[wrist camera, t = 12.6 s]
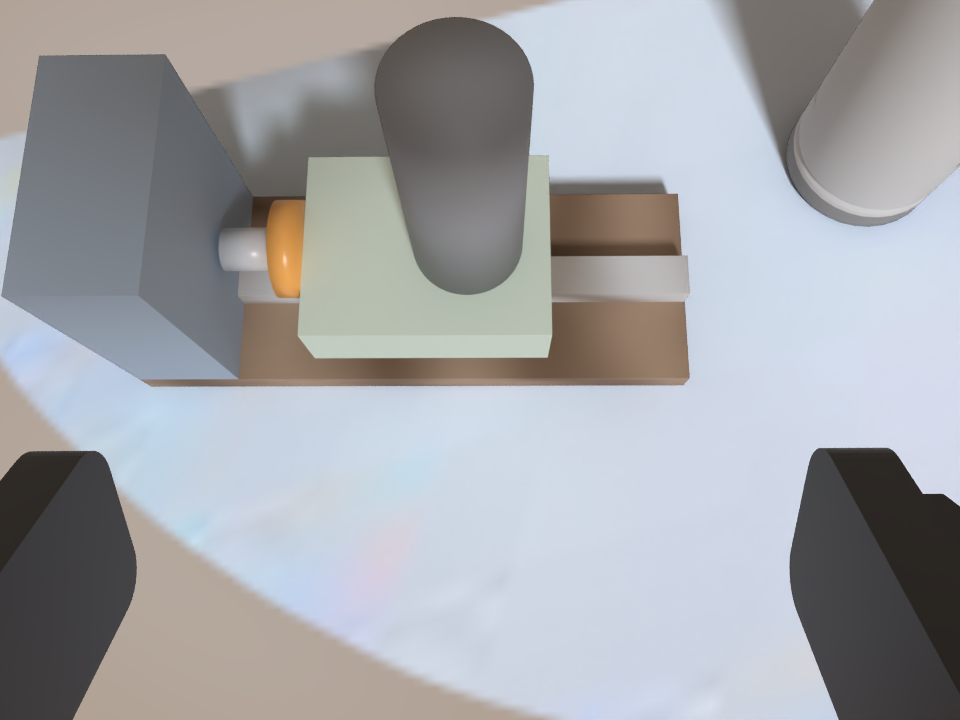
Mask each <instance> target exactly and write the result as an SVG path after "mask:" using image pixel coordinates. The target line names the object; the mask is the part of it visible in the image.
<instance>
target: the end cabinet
mask: <svg viewBox="0 0 960 720" xmlns="http://www.w3.org/2000/svg"><path fill="white" fill-rule="evenodd" d="M252 204H253V196H252V194H251V193H250V191H249V189H248V188H247V186H246V185H245V183H244V181H243V180H242V178H241V176H240V175H239V173H238V172H237V170H236V168H235V167H234V165H233V163H232V162H231V160H230V159H229V157H228V155H227V154H226V152H225V150H224V149H223V147H222V146H221V144H220V142H219V141H218V139H217V137H216V136H215V134H214V133H213V131H212V129H211V128H210V126H209V124H208V123H207V121H206V120H205V118H204V116H203V115H202V113H201V111H200V110H199V108H198V107H197V105H196V103H195V102H194V100H193V98H192V97H191V95H190V94H189V92H188V90H187V89H186V87H185V85H184V84H183V82H182V81H181V79H180V77H179V76H178V74H177V72H176V71H175V69H174V68H173V66H172V64H171V63H170V61H169V60H168V58H167V56H166V55H164V54H163V55H77V56H76V55H67V56H39V61H38V67H37V74H36V80H35V87H34V92H33V99H32V105H31V112H30V118H29V124H28V130H27V137H26V143H25V149H24V156H23V162H22V168H21V175H20V181H19V187H18V194H17V200H16V207H15V213H14V219H13V226H12V232H11V238H10V245H9V251H8V257H7V264H6V270H5V276H4V283H3V289H2V295H1V296H2V297H4V298H5V299H7V300H9V301H10V302H12V303H14V304H15V305H17V306H19V307H20V308H22V309H24V310H25V311H27V312H29V313H30V314H32V315H34V316H35V317H37V318H38V319H40V320H42V321H43V322H45V323H47V324H48V325H50V326H52V327H53V328H55V329H57V330H58V331H60V332H62V333H63V334H65V335H67V336H68V337H70V338H72V339H73V340H75V341H77V342H78V343H80V344H82V345H83V346H85V347H87V348H88V349H90V350H92V351H93V352H95V353H97V354H98V355H100V356H102V357H103V358H105V359H107V360H108V361H110V362H112V363H113V364H115V365H117V366H118V367H120V368H122V369H123V370H125V371H127V372H128V373H130V374H132V375H133V376H135V377H137V378H138V379H239V370H240V357H241V344H242V332H243V319H244V306H245V303H244V302H243V301H242V300H241V299H240V298H239V297H238V284H239V272H240V271H224V270H223V268H222V266H221V263H220V258H219V236H220V232H221V230H222V229H223V228H251V217H252Z"/></svg>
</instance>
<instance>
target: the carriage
mask: <svg viewBox="0 0 960 720" xmlns="http://www.w3.org/2000/svg"><path fill="white" fill-rule="evenodd" d="M533 90H534V82H533V74H532V70H531V66H530V64H529V61H528V59H527V57H526V55H525V53H524V52H523V50H522V49H521V48H520V46H519V45H518V44H517V43H516V42H515V41H514V40H513V39H512V38H511V37H510V36H509V35H508V34H506V33H505V32H504V31H502V30H500V29H499V28H497V27H495V26H493V25H491V24H488V23H486V22H483V21H480V20H476V19H471V18H463V17H451V18H450V17H449V18H441V19H435V20H432V21H429V22H425V23H423V24H420V25H418V26H416V27H414V28H413V29H411V30H409V31H407V32H406V33H405V34H403V35H402V36H401V37H399V38H398V39H397V40H396V41H395V42H394V43H393V44H392V45H391V46H390V48H389V49H388V50H387V52H386V53H385V55H384V56H383V58H382V60H381V62H380V65H379V67H378V70H377V74H376V78H375V99H376V105H377V109H378V113H379V117H380V121H381V125H382V129H383V133H384V137H385V141H386V145H387V149H388V153H389V157H308V171H307V188H306V204H305V221H304V237H303V254H302V270H301V287H300V303H299V319H298V337H299V338H300V340H301V341H302V342H303V344H304V345H305V346H306V347H307V349H308V350H309V351H310V353H311V354H312V355H313V357H314V358H548V353H549V348H550V343H551V339H552V297H551V249H550V200H549V155H529V147H530V133H531V119H532V105H533Z"/></svg>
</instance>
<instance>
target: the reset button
mask: <svg viewBox="0 0 960 720" xmlns="http://www.w3.org/2000/svg"><path fill="white" fill-rule="evenodd" d="M305 204H306V200H275V201H274V202H273V203H272V205H271V208H270V211H269V215H268V221H267V228H223V229H222V230H221V232H220V236H219V258H220V263H221V266H222V268H223V270H224V271H268V272H269V277H270V282H271V285H272V288H273V291H274V293H275V294H276V296H277V297H278V298H300V287H301V270H302V254H303V237H304V221H305Z"/></svg>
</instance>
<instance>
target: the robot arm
mask: <svg viewBox="0 0 960 720" xmlns="http://www.w3.org/2000/svg"><path fill="white" fill-rule="evenodd" d="M136 569H137V566H136V555H135V551H134V547H133V544H132V540H131V537H130V534H129V530H128V527H127V524H126V521H125V518H124V514H123V511H122V507H121V504H120V501H119V497H118V494H117V491H116V488H115V484H114V481H113V478H112V474H111V471H110V468H109V465H108V463H107V461H106V459H105V458H104V457H103V455H102V454H100V453H99V452H96V451H37V452H36V451H33V452H27V453H25V454H23V455H22V456H21V457H20V458H19V459H18V460H17V461H16V462H15V463H14V465H13V466H12V467H11V468H10V469H9V471H8V472H7V473H6V474H5V476H4V477H3V478H2V479H1V481H0V720H73V718H74V716H75V713H76V712H77V710H78V708H79V706H80V703H81V702H82V699H83V698H84V696H85V694H86V691H87V690H88V688H89V686H90V684H91V682H92V679H93V678H94V676H95V674H96V672H97V670H98V668H99V666H100V663H101V661H102V660H103V658H104V656H105V654H106V652H107V650H108V648H109V646H110V644H111V641H112V640H113V638H114V636H115V634H116V632H117V630H118V628H119V626H120V624H121V622H122V620H123V618H124V616H125V614H126V612H127V610H128V608H129V605H130V603H131V600H132V597H133V593H134V589H135V583H136ZM790 583H791V590H792V595H793V600H794V604H795V607H796V610H797V613H798V615H799V618H800V620H801V623H802V626H803V628H804V631H805V633H806V636H807V639H808V641H809V644H810V646H811V649H812V651H813V654H814V657H815V659H816V662H817V664H818V667H819V670H820V672H821V675H822V677H823V680H824V682H825V685H826V688H827V690H828V693H829V695H830V698H831V701H832V703H833V706H834V708H835V711H836V713H837V716H838V719H839V720H960V506H959V505H957V504H956V503H955V502H953V501H952V500H951V499H949V498H948V497H947V496H945V495H944V494H922V492H921V491H920V489H919V487H918V486H917V484H916V483H915V481H914V480H913V478H912V477H911V475H910V474H909V472H908V471H907V469H906V468H905V466H904V465H903V463H902V462H901V460H900V459H899V457H898V456H897V454H896V453H895V452H894V451H893V450H891V449H889V448H819V449H817V450H816V451H815V452H814V453H813V455H812V456H811V459H810V462H809V466H808V470H807V475H806V480H805V485H804V490H803V494H802V499H801V504H800V509H799V514H798V519H797V523H796V528H795V533H794V538H793V543H792V548H791V553H790Z"/></svg>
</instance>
